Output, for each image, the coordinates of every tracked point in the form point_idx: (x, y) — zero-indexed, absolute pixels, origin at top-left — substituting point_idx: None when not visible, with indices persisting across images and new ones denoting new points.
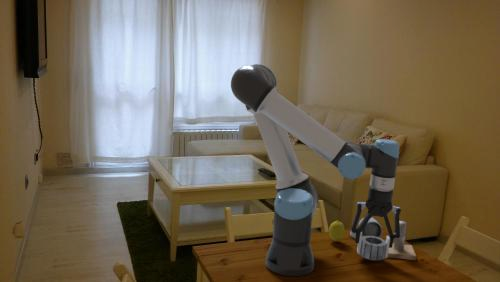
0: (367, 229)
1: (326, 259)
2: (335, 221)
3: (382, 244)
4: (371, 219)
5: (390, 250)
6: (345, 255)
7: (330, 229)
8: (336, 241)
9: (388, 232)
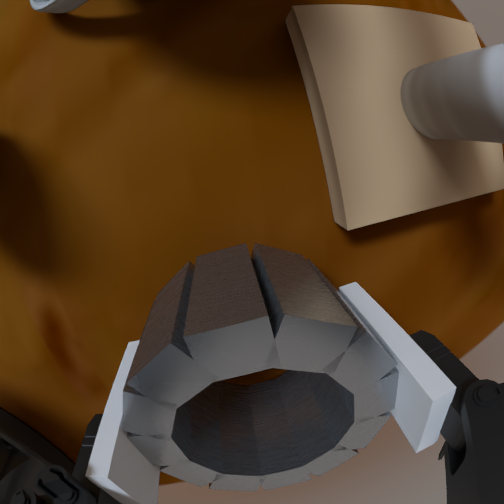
0: None
1: (51, 400)
2: None
3: (351, 447)
4: None
5: (383, 162)
6: (83, 332)
7: None
8: None
9: (449, 495)
